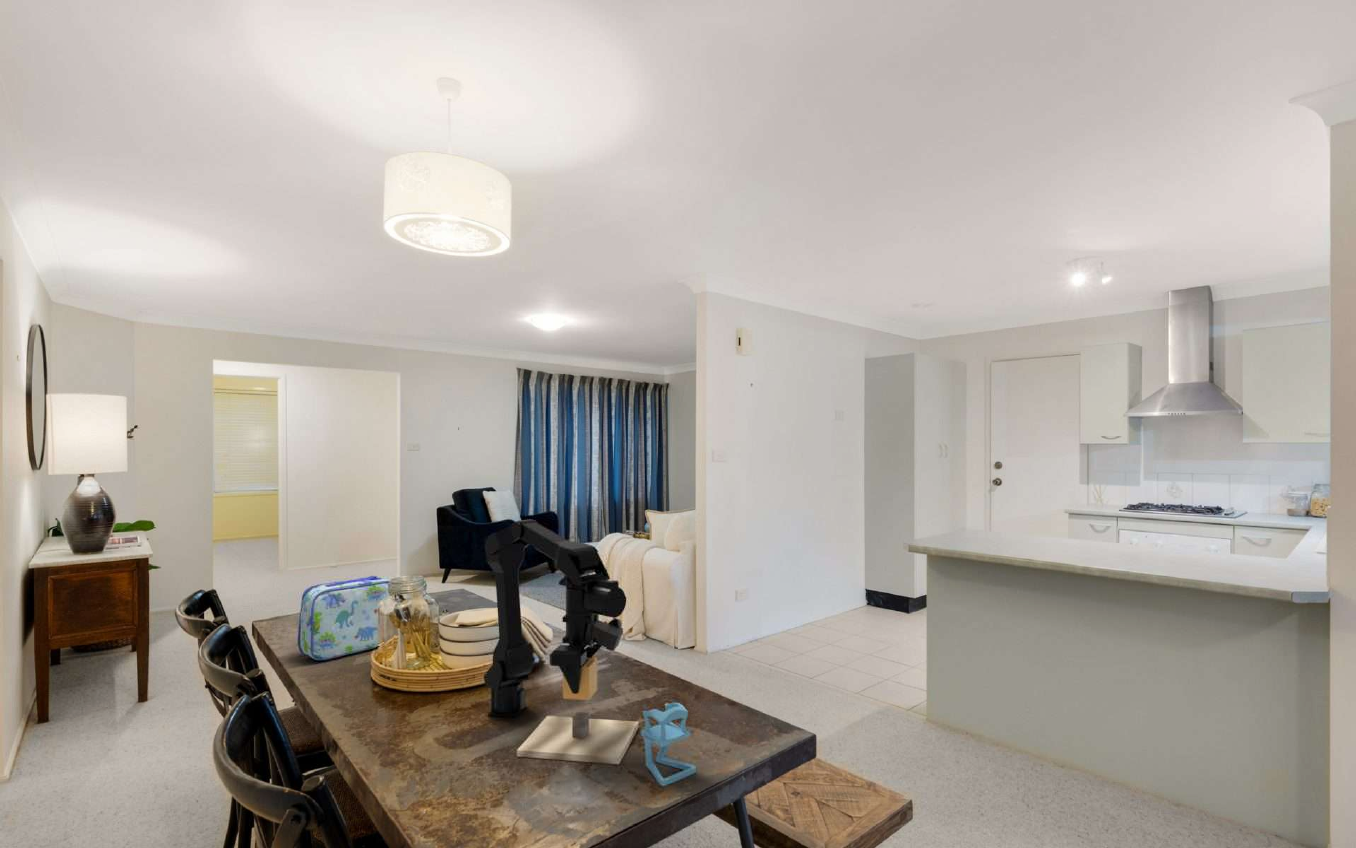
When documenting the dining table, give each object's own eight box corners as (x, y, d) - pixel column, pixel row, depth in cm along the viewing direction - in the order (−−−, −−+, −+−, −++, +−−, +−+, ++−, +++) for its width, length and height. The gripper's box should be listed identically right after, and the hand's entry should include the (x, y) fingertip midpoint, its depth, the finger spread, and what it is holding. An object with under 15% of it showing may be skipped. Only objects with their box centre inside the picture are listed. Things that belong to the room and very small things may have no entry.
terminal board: (517, 756, 124) (517, 728, 124) (547, 721, 140) (547, 697, 140) (619, 764, 121) (618, 735, 121) (638, 727, 136) (638, 702, 137)
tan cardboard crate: (562, 698, 128) (562, 665, 129) (571, 688, 134) (571, 656, 134) (589, 700, 127) (589, 667, 128) (597, 690, 133) (597, 658, 133)
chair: (668, 756, 124) (667, 692, 124) (696, 772, 117) (695, 704, 118) (635, 769, 119) (634, 702, 119) (663, 787, 112) (662, 716, 113)
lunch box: (385, 637, 203) (385, 569, 204) (402, 643, 197) (403, 573, 197) (294, 659, 183) (295, 583, 184) (310, 666, 176) (311, 588, 177)
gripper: (606, 623, 121) (606, 709, 120) (630, 600, 139) (630, 674, 138) (548, 621, 122) (548, 705, 122) (580, 598, 141) (579, 671, 140)
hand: (580, 688), depth 131 cm, fingers closed on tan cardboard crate, 5 cm apart
